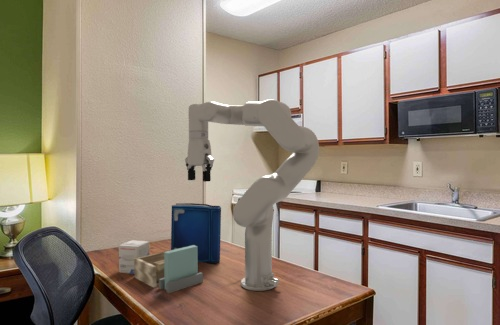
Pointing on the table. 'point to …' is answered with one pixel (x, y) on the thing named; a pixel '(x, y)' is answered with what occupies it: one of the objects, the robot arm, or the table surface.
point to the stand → (181, 282)
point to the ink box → (131, 254)
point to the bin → (147, 268)
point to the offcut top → (159, 266)
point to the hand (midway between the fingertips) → (199, 180)
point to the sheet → (180, 263)
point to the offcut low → (159, 276)
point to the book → (197, 229)
